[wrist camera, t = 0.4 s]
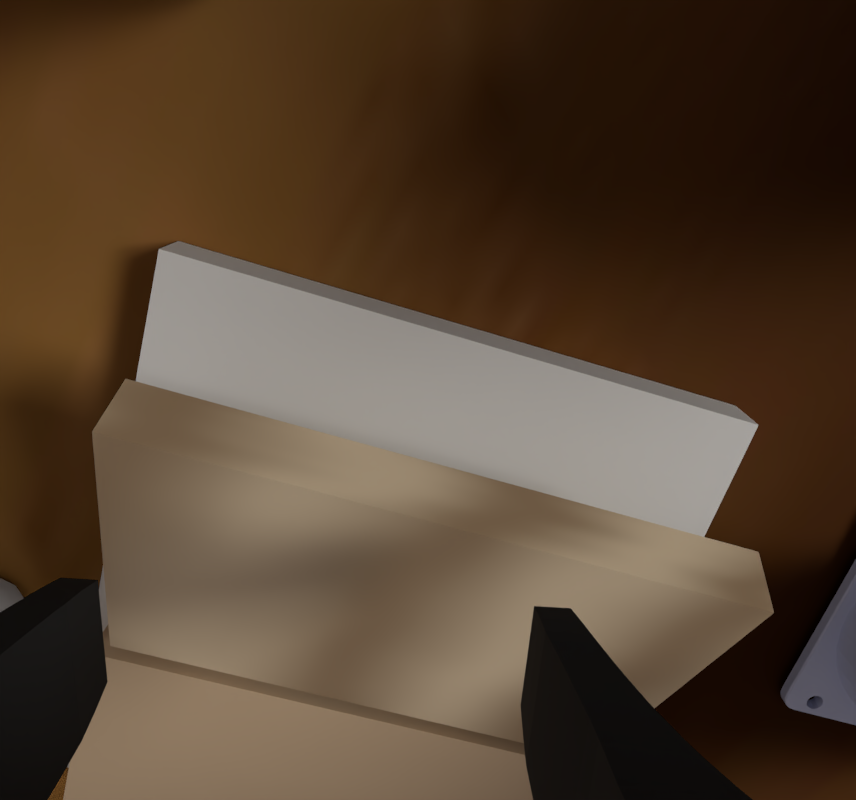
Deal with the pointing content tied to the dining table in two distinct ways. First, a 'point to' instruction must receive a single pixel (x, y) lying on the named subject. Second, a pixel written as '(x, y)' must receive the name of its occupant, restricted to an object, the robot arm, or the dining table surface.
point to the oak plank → (384, 567)
